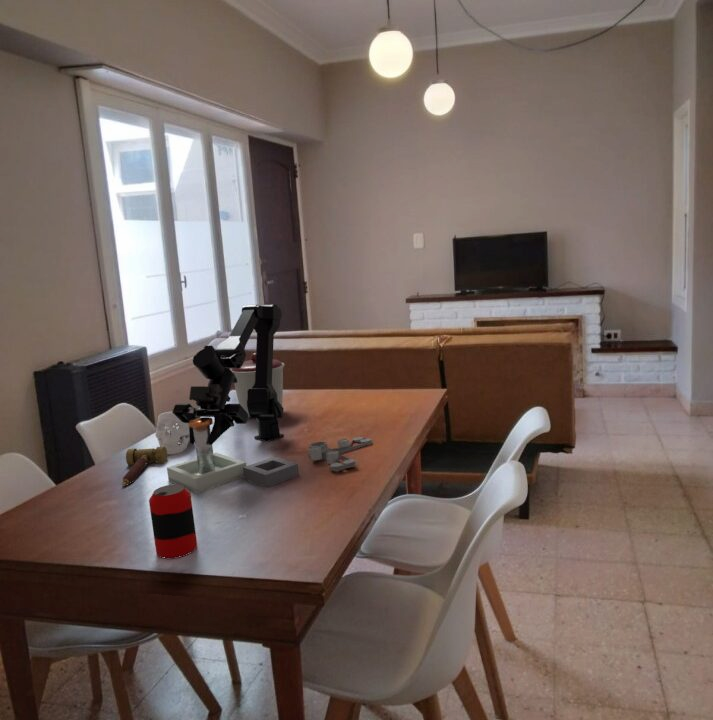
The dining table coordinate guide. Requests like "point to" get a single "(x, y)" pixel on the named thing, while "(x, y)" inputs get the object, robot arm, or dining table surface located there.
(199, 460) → the pin
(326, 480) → the dining table surface
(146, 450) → the gavel
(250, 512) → the dining table surface
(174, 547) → the soda can
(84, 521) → the dining table surface
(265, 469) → the pin socket
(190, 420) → the robot arm
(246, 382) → the canister
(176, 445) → the skull bowl
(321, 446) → the pulley system
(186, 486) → the tray
